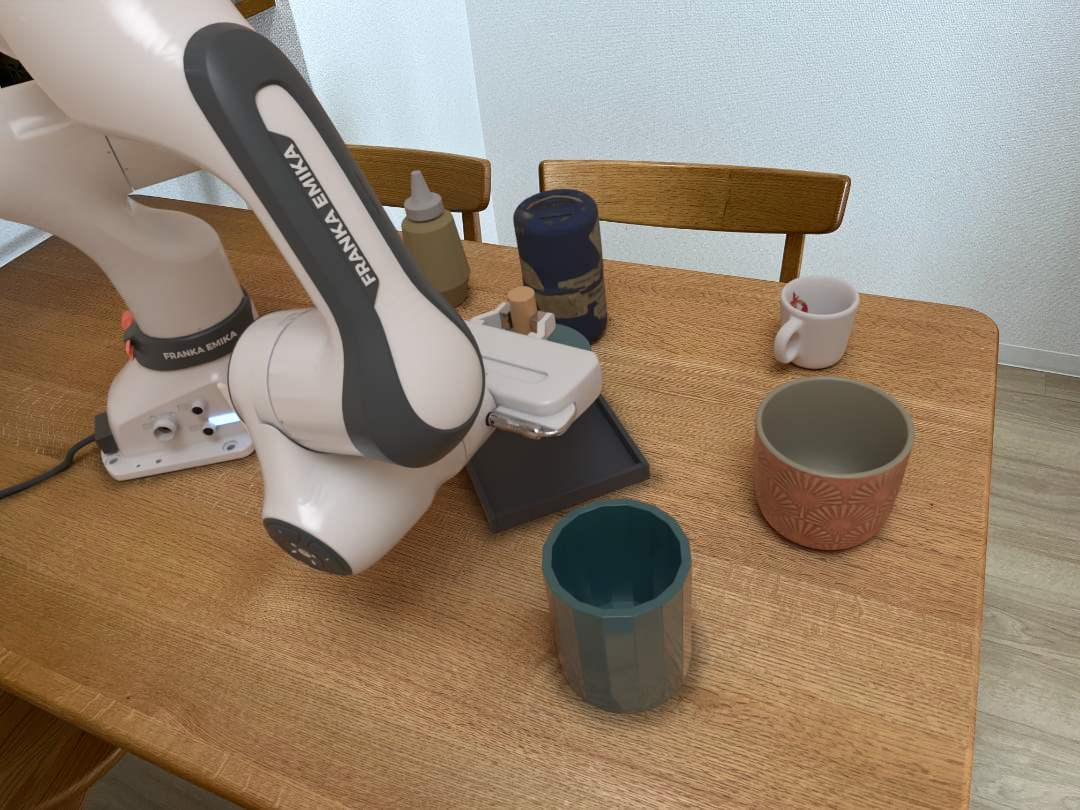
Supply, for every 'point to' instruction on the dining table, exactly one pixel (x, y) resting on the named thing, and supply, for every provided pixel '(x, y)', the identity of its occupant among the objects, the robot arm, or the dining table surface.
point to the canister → (563, 258)
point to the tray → (554, 468)
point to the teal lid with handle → (525, 308)
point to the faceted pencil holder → (620, 603)
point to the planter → (830, 459)
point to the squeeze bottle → (435, 241)
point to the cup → (815, 321)
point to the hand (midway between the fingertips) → (529, 313)
